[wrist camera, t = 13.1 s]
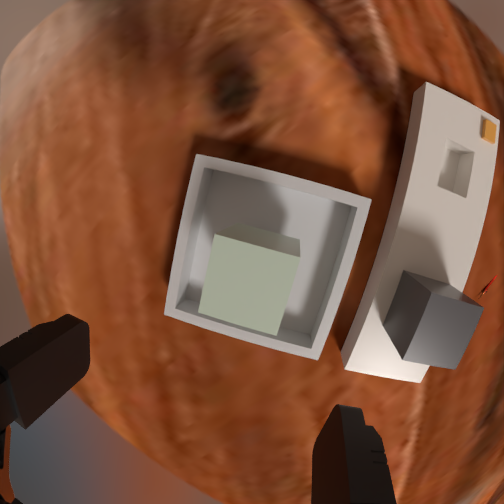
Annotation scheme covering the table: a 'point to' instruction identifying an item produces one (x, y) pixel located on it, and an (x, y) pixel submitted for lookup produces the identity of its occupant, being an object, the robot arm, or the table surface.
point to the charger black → (430, 321)
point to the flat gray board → (427, 220)
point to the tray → (275, 220)
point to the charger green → (250, 277)
